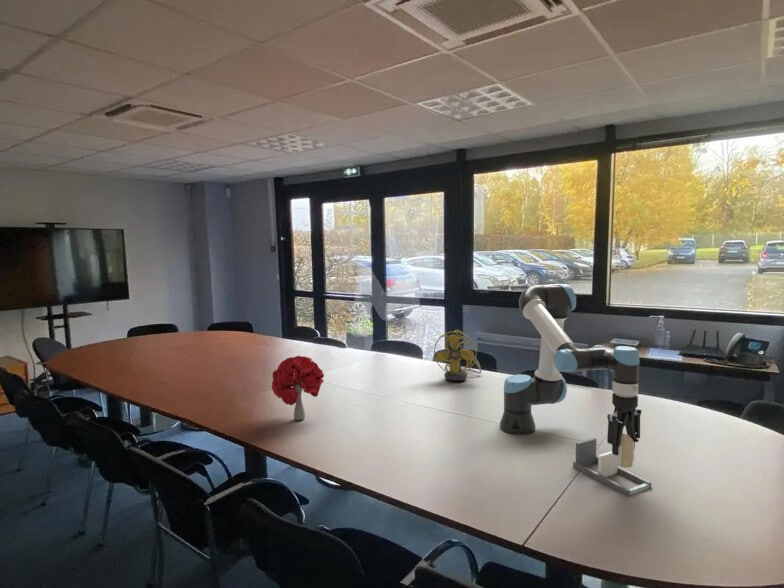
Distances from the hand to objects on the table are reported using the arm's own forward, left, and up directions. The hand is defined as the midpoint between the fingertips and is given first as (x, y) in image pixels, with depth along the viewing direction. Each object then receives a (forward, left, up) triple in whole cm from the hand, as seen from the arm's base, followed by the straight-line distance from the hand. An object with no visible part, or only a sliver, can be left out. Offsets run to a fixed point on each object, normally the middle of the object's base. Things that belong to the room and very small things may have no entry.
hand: (623, 461), depth 151 cm
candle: (0, 0, -1) cm, 1 cm away
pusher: (-5, 0, -8) cm, 9 cm away
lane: (-5, 0, -8) cm, 9 cm away
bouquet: (-111, -83, -8) cm, 139 cm away
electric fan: (-134, +25, -8) cm, 137 cm away
